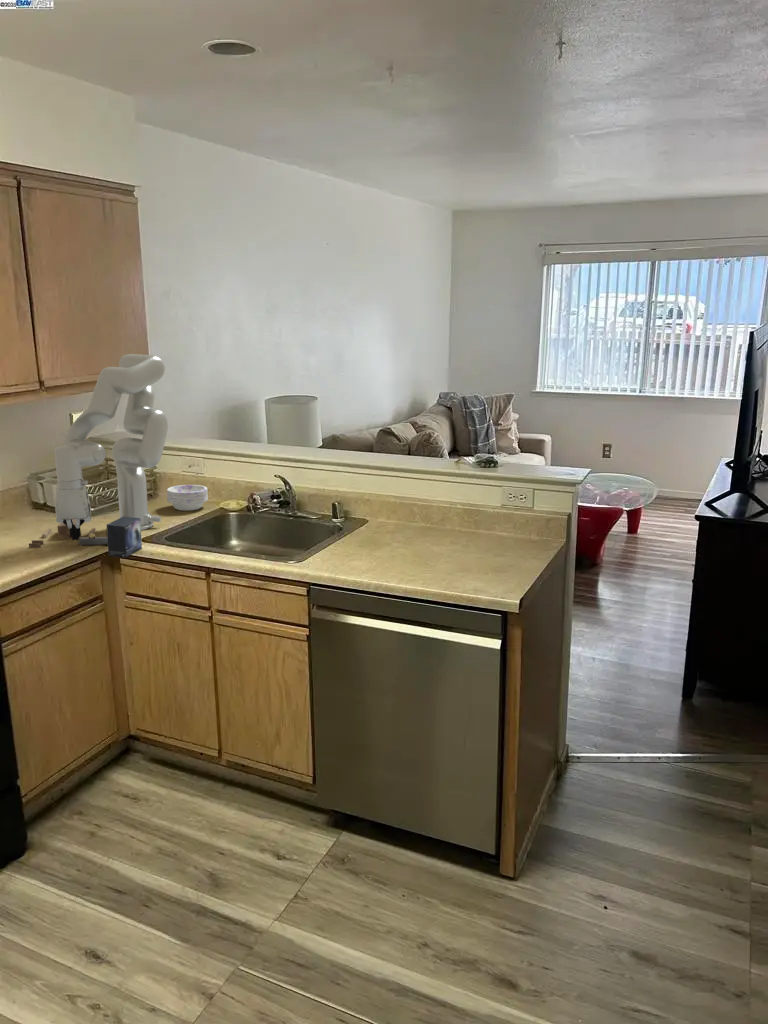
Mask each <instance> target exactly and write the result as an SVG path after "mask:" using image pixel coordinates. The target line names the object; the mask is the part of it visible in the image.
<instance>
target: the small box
mask: <svg viewBox="0 0 768 1024" xmlns="http://www.w3.org/2000/svg"><path fill="white" fill-rule="evenodd" d="M140 519H141V518H133V517H125V516H123V517H121V518H120V517H118V518H117V519H115V520H113V521H111V522H109V523H106V533H107V535H106V537H107V539H108V544H107V556H108V557H112V558H113V557H115V558H123V559H124V558H127V557H129V556H131V555H134V554H135V553H136V552H138V551H140V550H142V549H143V546H142V545H143V543H142V530H141V520H140Z"/></svg>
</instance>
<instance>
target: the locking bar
mask: <svg viewBox="0 0 768 1024" xmlns="http://www.w3.org/2000/svg"><path fill="white" fill-rule="evenodd" d="M78 545H79V546H87V545H90V546H91V545H95V546H97V545H108V539H107V536H96V534H95V533H94V534H89V537H88V536H87V537H86V536H85V537H84V536H81V537H79V539H78Z"/></svg>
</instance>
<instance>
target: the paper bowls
mask: <svg viewBox="0 0 768 1024" xmlns="http://www.w3.org/2000/svg"><path fill="white" fill-rule="evenodd" d="M208 492H209V491H208V487H207V486H204V485H199V484H180V485H175V486H174V485H173V486H170V487H168V488H167V489H166V498H167V500H166V501H167V502H168V503H169V504H172V506H173V509H175V510H178V511H183V512H184V511H185V512H187V511H189V512H190V511H196V510H199V509H201V508H202V506H203V505H204V503H206V502H207V501H209V494H208Z"/></svg>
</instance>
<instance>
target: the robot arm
mask: <svg viewBox="0 0 768 1024" xmlns="http://www.w3.org/2000/svg"><path fill="white" fill-rule="evenodd" d="M118 366H119V367H118ZM118 366H107V367H104V368H103V369H101V371H100V373H99V375H98V378H97V381H96V384H95V386H94V390H93V393H92V395H91V399H90V401H89V404H88V407H87V408H86V409H85V410H84V411H83V412H82V413H81V414H80V415H79V416H78V417H77V418H76V419H75V421H73V423H72V424H71V426H70V427H69V428H68V431H67V434H66V436H65V440H64V443H63V445H59V446H56V448H54V452H53V453H54V461H55V462H54V463H55V472H56V479H57V488H56V490H55V501H54V502H55V504H54V507H55V509H54V510H55V516H56V519H55V521H56V523H59V524H60V523H64V524H65V525H66V526H68V528H69V529H70V537H72V538H71V540H72V541H79V538H80V537H82V533H81V527H82V525H83V524H85V523H88V522H91V521H92V516H91V514H92V508H91V503H90V496H89V492H88V490H87V487H86V486H85V485H88V483H89V482H88V479H87V480H86V479H84V477H83V471H82V467H93V466H98V465H100V464H102V463H103V461H105V460H106V456H107V452H106V449H105V447H104V446H103V445H102V444H99V442H98V443H97V442H94V441H87V437H88V436H89V435H90V433H91V432H92V431H93V430H94V429H95V428H96V427H98V426H100V425H102V424H104V423H107V422H109V421H111V420H112V419H114V417H115V415H116V413H117V409H118V405H119V404H120V400H121V398H122V395H124V394H125V395H128V398H127V404H126V407H125V412H124V416H123V423H122V424H123V429H124V430H125V431H126V432H128V434H132V435H139V436H142V438H136V437H130V436H129V437H128V436H127V437H126V436H125V437H121V438H119V439H117V440H116V441H114V443H113V446H112V448H111V449H112V450H111V452H112V453H111V454H112V458H113V461H114V467H115V470H116V471H115V472H116V479H117V480H116V481H117V493H118V497H117V498H118V509H119V512H118V513H119V518H121V517H123V516H125V517H133V518H141V519H140V520H141V531H143V530H148V529H150V528H152V527H153V526H154V523H156V522H157V523H158V522H159V523H161V522H162V516H160V515H158V514H157V515H155V514H154V515H152V514H151V511H148V510H149V507H148V490H147V489H148V488H147V477H146V472H145V470H144V468H145V469H153V468H155V467H156V466H157V465H159V463H160V461H161V459H162V456H163V453H164V447H165V443H166V438H167V434H168V429H169V423H168V419H167V418H168V417H167V416H166V414H165V413H164V412H163V411H162V410H161V409H158V408H154V403H155V397H156V395H155V389H154V387H153V384H155V383H157V382H158V381H160V380H161V379H162V377H163V376H164V374H165V370H166V366H165V363H164V361H163V360H162V359H161V357H158V356H157V355H153V354H152V355H151V354H140V353H138V354H137V353H129V354H124V355H122V356H121V357H120V359H119V363H118ZM72 519H76V526H74V523H73V520H72Z"/></svg>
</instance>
